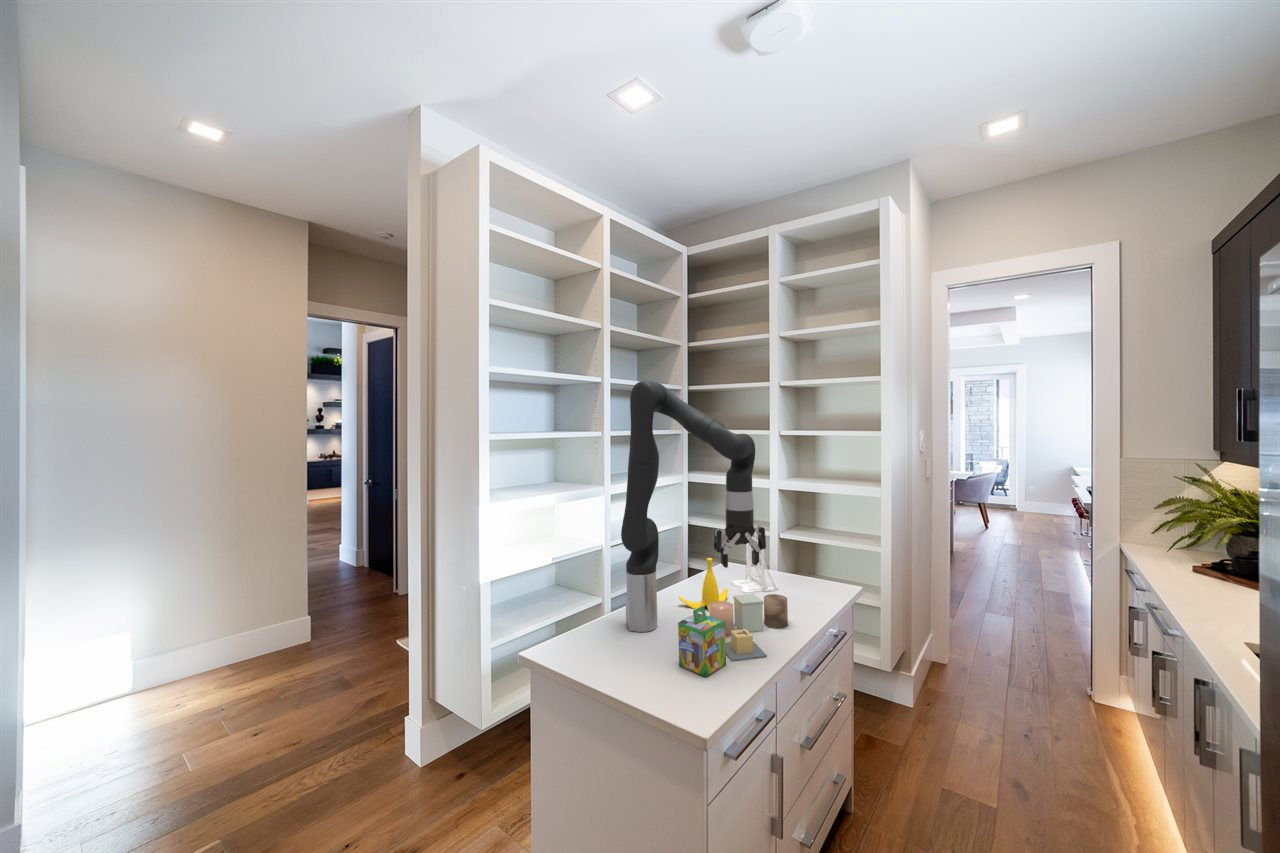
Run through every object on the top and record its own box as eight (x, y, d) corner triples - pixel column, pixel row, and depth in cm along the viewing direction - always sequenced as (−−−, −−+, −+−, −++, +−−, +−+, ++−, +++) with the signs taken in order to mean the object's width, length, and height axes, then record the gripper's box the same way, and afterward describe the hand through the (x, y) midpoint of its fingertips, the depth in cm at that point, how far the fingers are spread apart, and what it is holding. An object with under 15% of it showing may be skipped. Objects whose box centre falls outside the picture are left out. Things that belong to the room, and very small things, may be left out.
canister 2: (770, 629, 154) (770, 603, 154) (760, 620, 161) (759, 595, 161) (792, 627, 155) (791, 601, 155) (781, 618, 162) (780, 593, 162)
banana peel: (677, 606, 175) (676, 557, 175) (726, 597, 182) (725, 550, 182) (700, 624, 160) (699, 570, 159) (752, 614, 167) (751, 562, 166)
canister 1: (714, 638, 149) (714, 610, 149) (706, 628, 156) (706, 602, 156) (737, 635, 151) (736, 608, 151) (728, 625, 158) (727, 599, 157)
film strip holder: (728, 582, 198) (727, 530, 198) (761, 578, 202) (760, 527, 201) (744, 594, 184) (743, 539, 184) (780, 590, 188) (779, 536, 187)
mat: (731, 661, 135) (731, 660, 135) (718, 644, 145) (718, 643, 145) (767, 657, 137) (767, 655, 137) (751, 640, 147) (751, 639, 147)
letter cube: (737, 654, 138) (736, 637, 138) (731, 646, 143) (730, 630, 143) (752, 652, 139) (752, 635, 139) (746, 645, 144) (745, 628, 143)
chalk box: (706, 678, 127) (704, 619, 127) (677, 666, 133) (676, 609, 133) (727, 664, 134) (726, 608, 133) (699, 653, 140) (698, 599, 140)
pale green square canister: (742, 633, 152) (741, 603, 152) (733, 623, 159) (733, 595, 159) (763, 630, 154) (763, 601, 153) (754, 621, 160) (753, 593, 160)
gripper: (719, 510, 136) (720, 572, 136) (769, 508, 139) (770, 567, 139) (710, 506, 143) (710, 563, 143) (757, 503, 146) (758, 560, 146)
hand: (740, 565), depth 141 cm, fingers open, 8 cm apart
